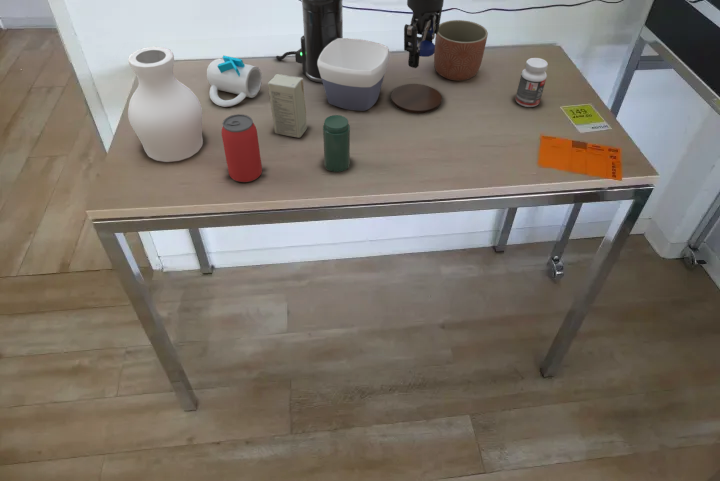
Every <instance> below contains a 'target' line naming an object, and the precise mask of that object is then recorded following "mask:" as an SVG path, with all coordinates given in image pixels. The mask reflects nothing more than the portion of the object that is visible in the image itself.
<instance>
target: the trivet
mask: <svg viewBox="0 0 720 481" xmlns="http://www.w3.org/2000/svg"><path fill="white" fill-rule="evenodd" d="M442 100H443V97H442V95H441V93H440V91H438V90H437V89H435V88H434V87H432V86H430V85H427V84H421V83H408V84H403V85H400V86H397V87H396V88H394V89H393V90H392V91H391V93H390V102H391V104H392V105H393V106H394V107H395V108H397V109H398V110H400V111H403V112H405V113H410V114H427V113H431V112H433V111H436V110H437V109H439V108H440V107H441V105H442Z"/></svg>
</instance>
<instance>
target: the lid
mask: <svg viewBox="0 0 720 481" xmlns="http://www.w3.org/2000/svg"><path fill="white" fill-rule="evenodd" d="M417 44H418V41H417ZM434 52H435V43H434V42H433V41H432V42H430V41H427V40H425V41H424V42H422V44H421V48H420V56H419V57H423V58H424V57H425V58H427V57H428V56H429V57H431V56H434ZM429 57H428V58H429Z"/></svg>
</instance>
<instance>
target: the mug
mask: <svg viewBox="0 0 720 481" xmlns="http://www.w3.org/2000/svg"><path fill="white" fill-rule="evenodd" d="M206 80H207V82H208V83H209V85H210V88H209V99H210V100H211V101H212V103H214V105H216V106H219V107H224V108H228V107H234V106H236V105H238V104H239V103H241V102H242V101H243V100H244V99H246V98H251V99H253V98H256V96H257V95H258V94H259V92H260V89H261V88H262V83H263V82H262V80H263V76H262V71H261V69H260V68H259V66H256V65H252V64H247V63H244V61H243V59H242V58H237V57H233V56H227V55H223V56H222V58H215V59H213V60H212V61H211V62H210V63H209V64H208V66H207V69H206ZM218 91H221V92H227V93H230V94H234V95H237V96H235V97H234V98H231V99H222V98H221V97H220V96H219V94H218Z"/></svg>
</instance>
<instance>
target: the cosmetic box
mask: <svg viewBox="0 0 720 481" xmlns="http://www.w3.org/2000/svg"><path fill="white" fill-rule="evenodd" d="M267 87H268V94H269V101H270V102H269V103H270V109H271V114H272V122H273V129H274V134H277V135H282V136H288V137H294V138H299V139H300V138H301V137H302V136H303V135H304V134H305V132H306V130H307V129H308V121H307V120H308V119H307V109H306V99H305V98H306V97H305V89H304V78H303V77H300V76H299V77H298V76H294V75H287V74H281V73H276V74H275V75H274V76H272V78H271V79H270V80H269V81H267Z"/></svg>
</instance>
